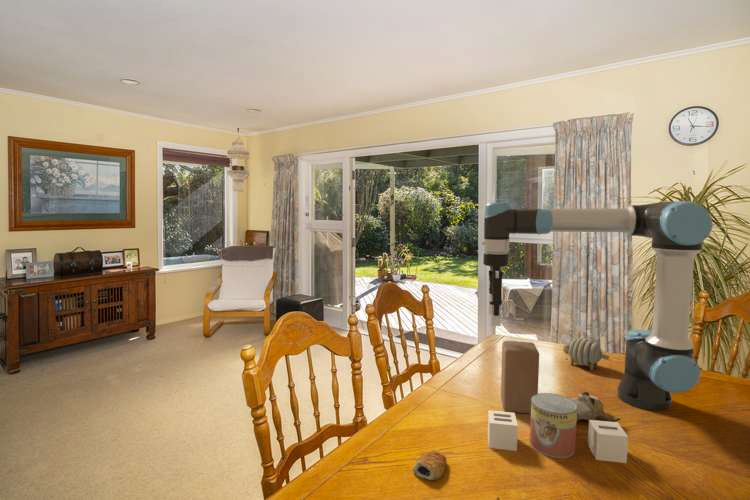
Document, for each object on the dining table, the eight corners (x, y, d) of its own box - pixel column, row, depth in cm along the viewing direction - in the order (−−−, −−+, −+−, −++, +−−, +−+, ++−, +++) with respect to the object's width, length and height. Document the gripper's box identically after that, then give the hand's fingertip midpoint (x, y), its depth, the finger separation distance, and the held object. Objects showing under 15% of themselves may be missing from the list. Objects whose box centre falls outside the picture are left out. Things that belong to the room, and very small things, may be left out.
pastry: (428, 455, 107) (429, 441, 107) (453, 464, 103) (453, 450, 103) (410, 474, 100) (410, 459, 99) (436, 485, 96) (436, 470, 95)
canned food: (522, 446, 111) (524, 403, 109) (538, 429, 119) (539, 389, 118) (567, 463, 103) (570, 417, 102) (580, 444, 112) (582, 401, 110)
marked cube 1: (513, 436, 116) (514, 412, 115) (516, 451, 109) (517, 425, 108) (487, 434, 117) (488, 409, 116) (489, 448, 110) (489, 422, 109)
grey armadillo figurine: (566, 357, 175) (568, 332, 174) (611, 368, 164) (613, 340, 163) (558, 364, 167) (559, 338, 166) (604, 376, 156) (606, 347, 155)
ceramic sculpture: (555, 384, 129) (601, 385, 130) (552, 410, 130) (598, 411, 131) (574, 400, 118) (624, 401, 119) (571, 429, 119) (620, 429, 120)
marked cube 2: (616, 447, 110) (617, 421, 110) (626, 463, 103) (628, 436, 103) (587, 444, 112) (589, 419, 111) (595, 460, 105) (597, 433, 104)
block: (537, 415, 127) (540, 352, 125) (503, 412, 129) (505, 349, 127) (532, 400, 137) (534, 341, 135) (500, 398, 139) (502, 339, 137)
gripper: (482, 248, 142) (480, 309, 144) (485, 257, 118) (483, 330, 120) (505, 248, 140) (503, 310, 142) (513, 257, 116) (510, 331, 118)
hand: (494, 319), depth 131 cm, fingers open, 13 cm apart
